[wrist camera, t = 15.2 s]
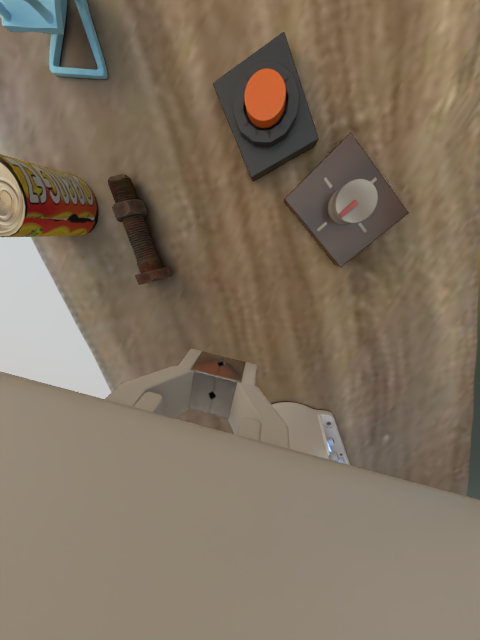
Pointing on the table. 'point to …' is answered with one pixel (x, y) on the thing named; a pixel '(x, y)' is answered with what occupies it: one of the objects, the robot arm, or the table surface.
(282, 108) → the button
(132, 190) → the bolt
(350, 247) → the dial base
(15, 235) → the beverage can
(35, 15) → the chair
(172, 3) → the table surface
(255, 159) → the button box
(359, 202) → the knob
